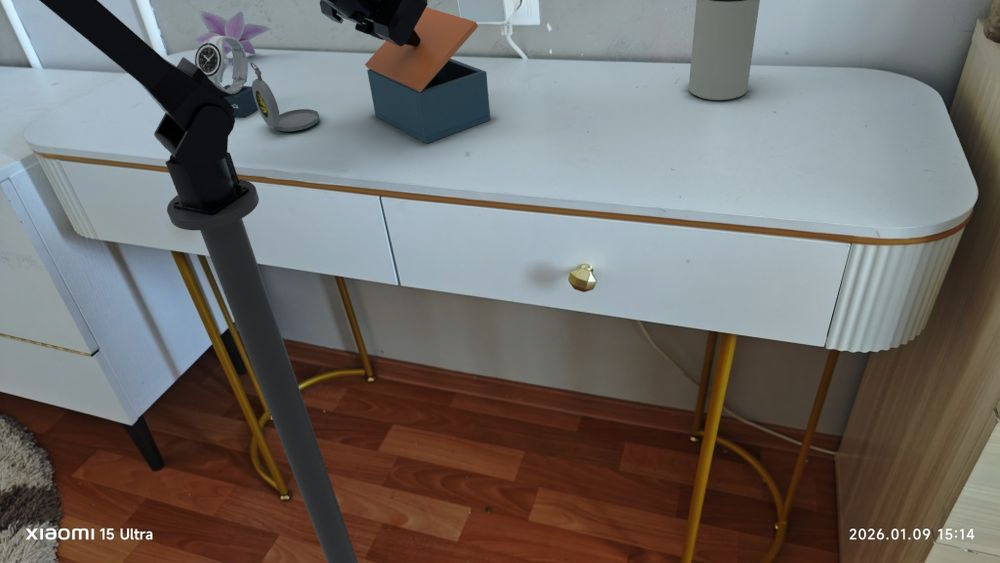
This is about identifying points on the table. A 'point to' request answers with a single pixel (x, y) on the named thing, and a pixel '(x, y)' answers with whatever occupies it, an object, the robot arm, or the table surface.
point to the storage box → (433, 102)
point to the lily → (230, 30)
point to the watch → (214, 65)
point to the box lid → (423, 49)
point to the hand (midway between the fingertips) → (417, 42)
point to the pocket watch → (271, 113)
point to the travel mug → (722, 48)
